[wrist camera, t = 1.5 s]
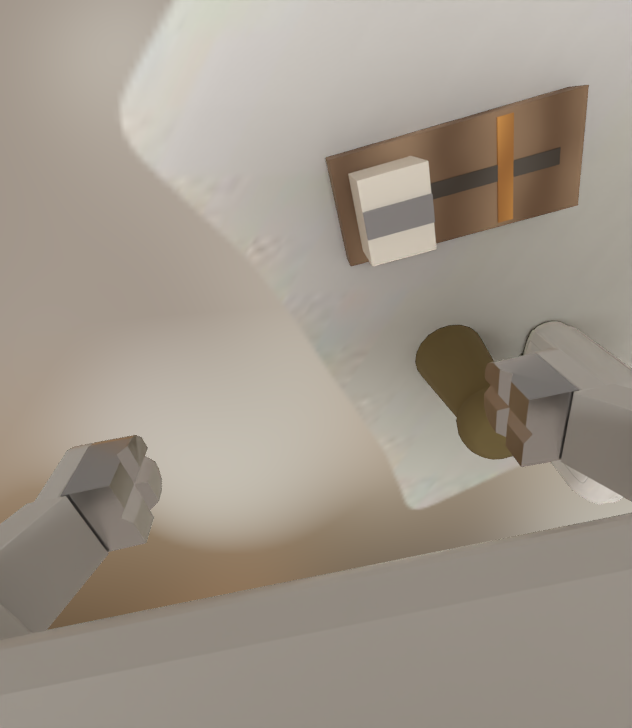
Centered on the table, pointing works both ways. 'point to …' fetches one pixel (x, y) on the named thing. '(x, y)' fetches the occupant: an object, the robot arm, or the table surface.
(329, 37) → the table surface
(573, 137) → the slider board
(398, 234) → the fader tab
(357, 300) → the table surface
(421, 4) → the table surface
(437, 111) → the table surface
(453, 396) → the cork
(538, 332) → the photo printer
